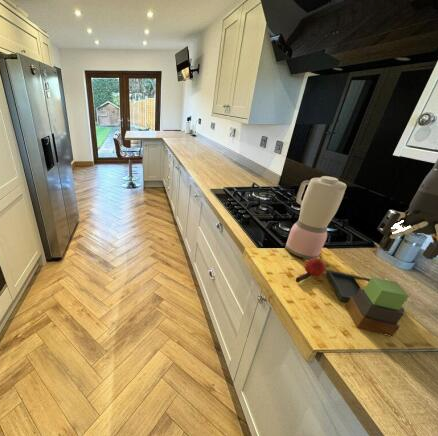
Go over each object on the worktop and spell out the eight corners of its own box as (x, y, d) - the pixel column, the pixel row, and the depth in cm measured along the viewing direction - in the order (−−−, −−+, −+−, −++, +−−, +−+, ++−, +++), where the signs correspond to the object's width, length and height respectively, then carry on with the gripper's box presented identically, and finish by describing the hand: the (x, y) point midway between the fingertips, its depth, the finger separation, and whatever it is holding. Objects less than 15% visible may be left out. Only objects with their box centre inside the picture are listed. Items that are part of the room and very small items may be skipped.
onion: (322, 283, 81) (331, 264, 78) (303, 278, 83) (311, 260, 79) (318, 273, 86) (326, 255, 83) (300, 269, 88) (307, 251, 84)
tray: (377, 285, 81) (380, 280, 80) (400, 315, 70) (404, 310, 69) (325, 274, 85) (327, 270, 85) (339, 301, 74) (342, 295, 73)
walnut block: (376, 314, 70) (383, 304, 68) (392, 336, 63) (399, 326, 61) (345, 306, 72) (350, 297, 70) (356, 327, 65) (363, 317, 63)
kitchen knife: (297, 283, 80) (299, 278, 79) (294, 281, 81) (296, 277, 80) (327, 269, 88) (329, 265, 87) (324, 267, 89) (326, 263, 88)
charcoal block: (382, 305, 67) (389, 294, 66) (396, 324, 62) (404, 313, 60) (353, 298, 69) (359, 288, 68) (364, 316, 63) (371, 305, 62)
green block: (387, 295, 65) (396, 281, 63) (399, 310, 61) (409, 295, 58) (363, 290, 67) (371, 276, 65) (373, 304, 62) (382, 290, 60)
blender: (325, 258, 95) (360, 182, 81) (304, 264, 91) (336, 184, 77) (291, 239, 108) (316, 170, 94) (271, 243, 104) (294, 172, 90)
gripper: (414, 192, 50) (378, 255, 57) (505, 203, 46) (454, 269, 53) (393, 182, 56) (363, 240, 63) (472, 191, 52) (431, 251, 59)
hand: (405, 253), depth 58 cm, fingers open, 8 cm apart
